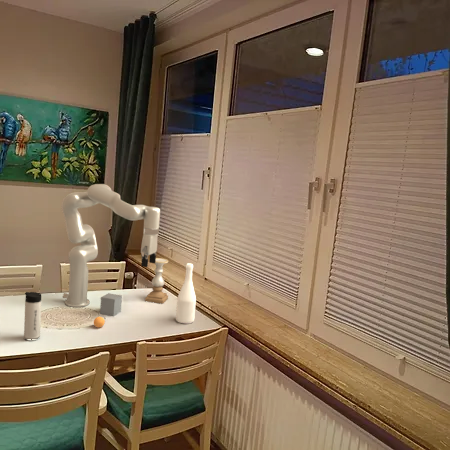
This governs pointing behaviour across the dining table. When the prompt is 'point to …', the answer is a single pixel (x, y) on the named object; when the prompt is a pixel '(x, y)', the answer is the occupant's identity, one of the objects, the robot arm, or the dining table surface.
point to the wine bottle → (186, 299)
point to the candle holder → (158, 284)
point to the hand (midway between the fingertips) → (148, 264)
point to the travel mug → (32, 315)
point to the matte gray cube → (110, 304)
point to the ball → (99, 322)
